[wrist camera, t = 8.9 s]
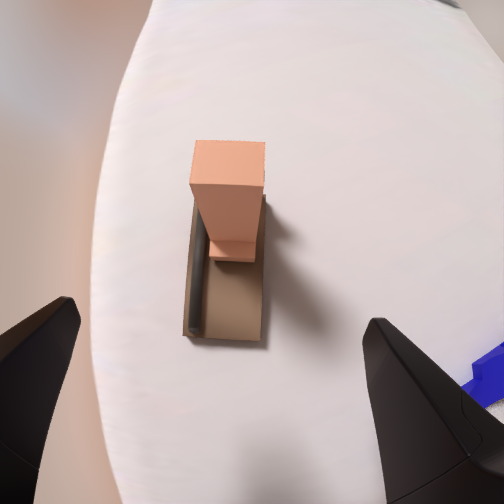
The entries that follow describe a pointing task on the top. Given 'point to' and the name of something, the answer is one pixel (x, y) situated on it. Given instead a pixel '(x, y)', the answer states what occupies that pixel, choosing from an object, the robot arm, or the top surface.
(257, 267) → the grey block holder
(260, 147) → the block
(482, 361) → the cable clip
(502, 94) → the top surface
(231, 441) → the top surface
